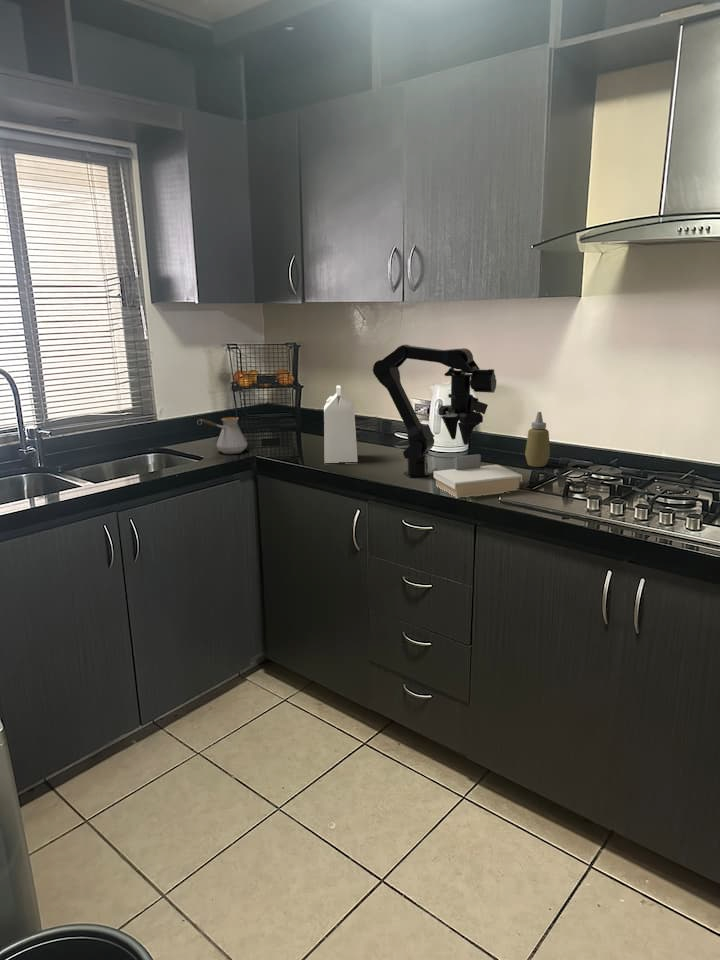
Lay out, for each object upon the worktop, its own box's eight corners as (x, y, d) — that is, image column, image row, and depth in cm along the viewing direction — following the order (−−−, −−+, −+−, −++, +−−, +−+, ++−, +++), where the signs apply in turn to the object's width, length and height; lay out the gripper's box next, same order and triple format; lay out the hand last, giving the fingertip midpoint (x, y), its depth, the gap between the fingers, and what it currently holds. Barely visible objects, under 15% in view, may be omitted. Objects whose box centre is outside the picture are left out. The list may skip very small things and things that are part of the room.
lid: (433, 477, 207) (433, 458, 205) (497, 470, 213) (497, 451, 212) (454, 489, 193) (455, 468, 192) (521, 481, 200) (522, 461, 198)
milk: (357, 463, 239) (355, 388, 233) (324, 464, 239) (321, 389, 232) (355, 455, 251) (354, 384, 244) (324, 456, 250) (321, 384, 244)
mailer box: (436, 486, 207) (436, 473, 206) (494, 479, 213) (495, 467, 212) (456, 498, 194) (457, 484, 193) (518, 491, 200) (519, 477, 199)
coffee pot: (232, 447, 269) (229, 409, 265) (254, 450, 262) (251, 411, 259) (190, 458, 252) (187, 418, 248) (213, 462, 245) (209, 420, 242)
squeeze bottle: (543, 462, 235) (546, 409, 230) (553, 467, 227) (556, 413, 222) (520, 463, 233) (522, 410, 229) (530, 468, 226) (532, 414, 221)
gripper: (499, 393, 202) (497, 445, 206) (470, 386, 219) (469, 434, 223) (465, 395, 198) (464, 448, 202) (438, 388, 215) (437, 437, 219)
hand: (459, 441), depth 212 cm, fingers open, 8 cm apart
